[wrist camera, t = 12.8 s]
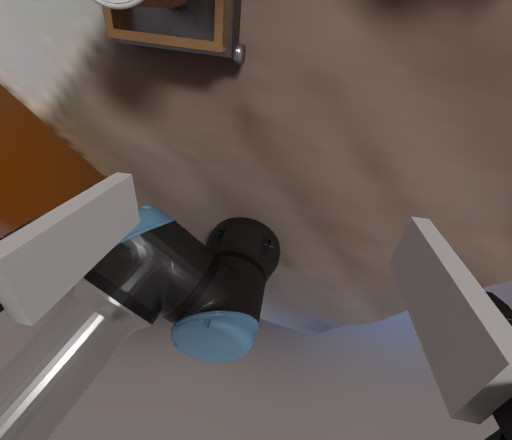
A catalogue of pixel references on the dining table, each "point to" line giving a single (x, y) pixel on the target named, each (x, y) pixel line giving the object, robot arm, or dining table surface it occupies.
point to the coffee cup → (140, 3)
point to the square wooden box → (181, 27)
